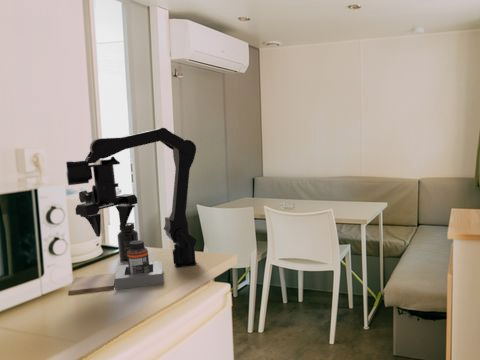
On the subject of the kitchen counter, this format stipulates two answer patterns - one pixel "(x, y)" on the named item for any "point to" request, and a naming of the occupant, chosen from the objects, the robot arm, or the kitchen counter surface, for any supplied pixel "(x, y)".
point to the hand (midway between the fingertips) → (111, 232)
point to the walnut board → (92, 283)
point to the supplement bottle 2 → (138, 258)
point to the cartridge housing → (138, 276)
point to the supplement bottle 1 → (126, 240)
